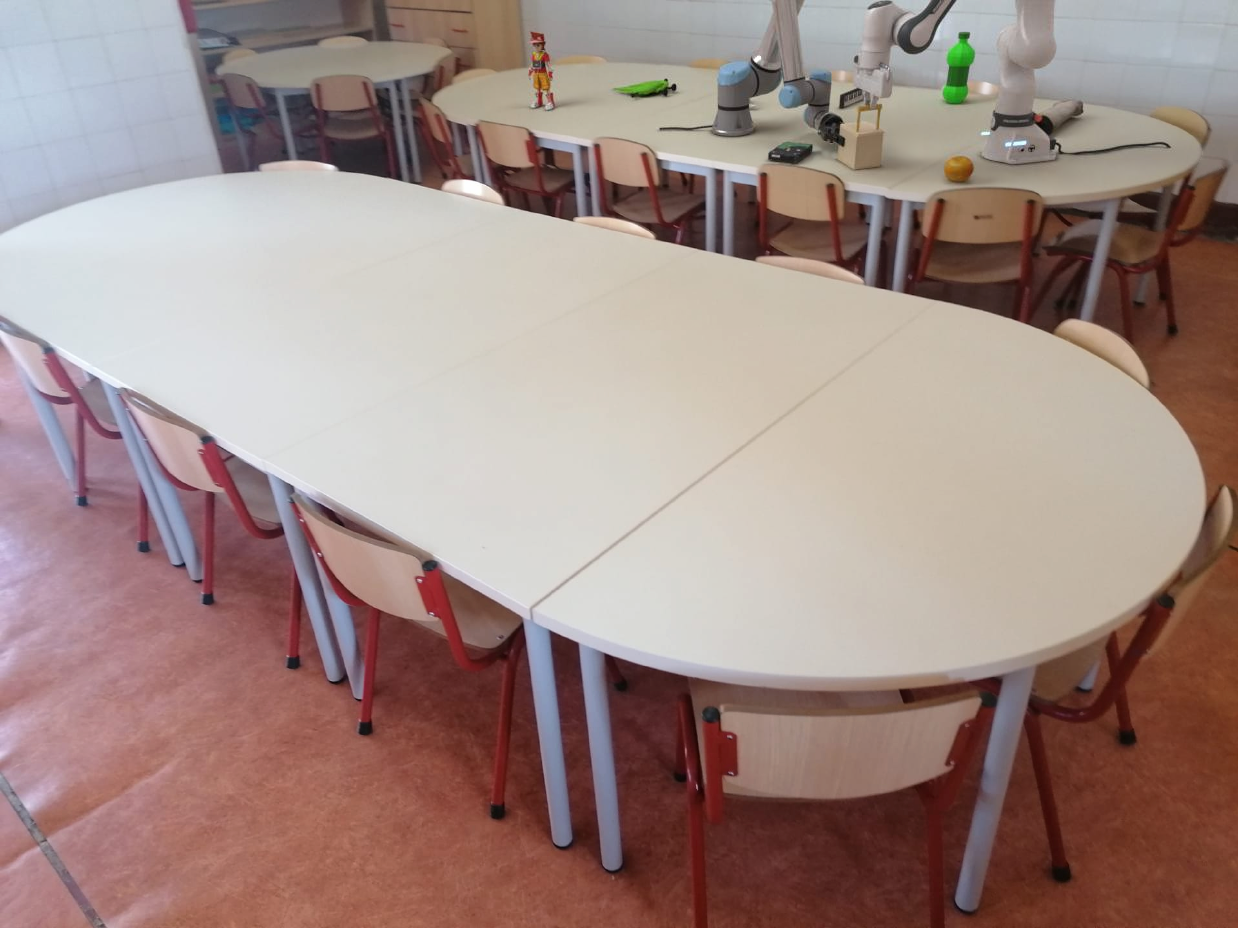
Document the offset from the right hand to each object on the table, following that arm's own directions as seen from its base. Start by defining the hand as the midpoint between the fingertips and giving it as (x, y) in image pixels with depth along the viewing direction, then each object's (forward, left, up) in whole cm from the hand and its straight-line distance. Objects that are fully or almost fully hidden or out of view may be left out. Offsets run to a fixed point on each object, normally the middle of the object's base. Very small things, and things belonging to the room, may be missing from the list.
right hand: (869, 107), depth 284 cm
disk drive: (+22, -14, -18) cm, 32 cm away
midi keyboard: (-11, -82, -18) cm, 85 cm away
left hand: (+2, -6, -12) cm, 13 cm away
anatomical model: (+34, -86, -18) cm, 95 cm away
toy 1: (+116, -101, -18) cm, 155 cm away
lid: (+1, -3, -8) cm, 9 cm away
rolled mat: (-74, -37, -18) cm, 85 cm away
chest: (+1, -4, -18) cm, 19 cm away
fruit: (-25, +19, -18) cm, 36 cm away
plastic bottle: (-50, -77, -18) cm, 94 cm away
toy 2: (+74, -121, -18) cm, 143 cm away
